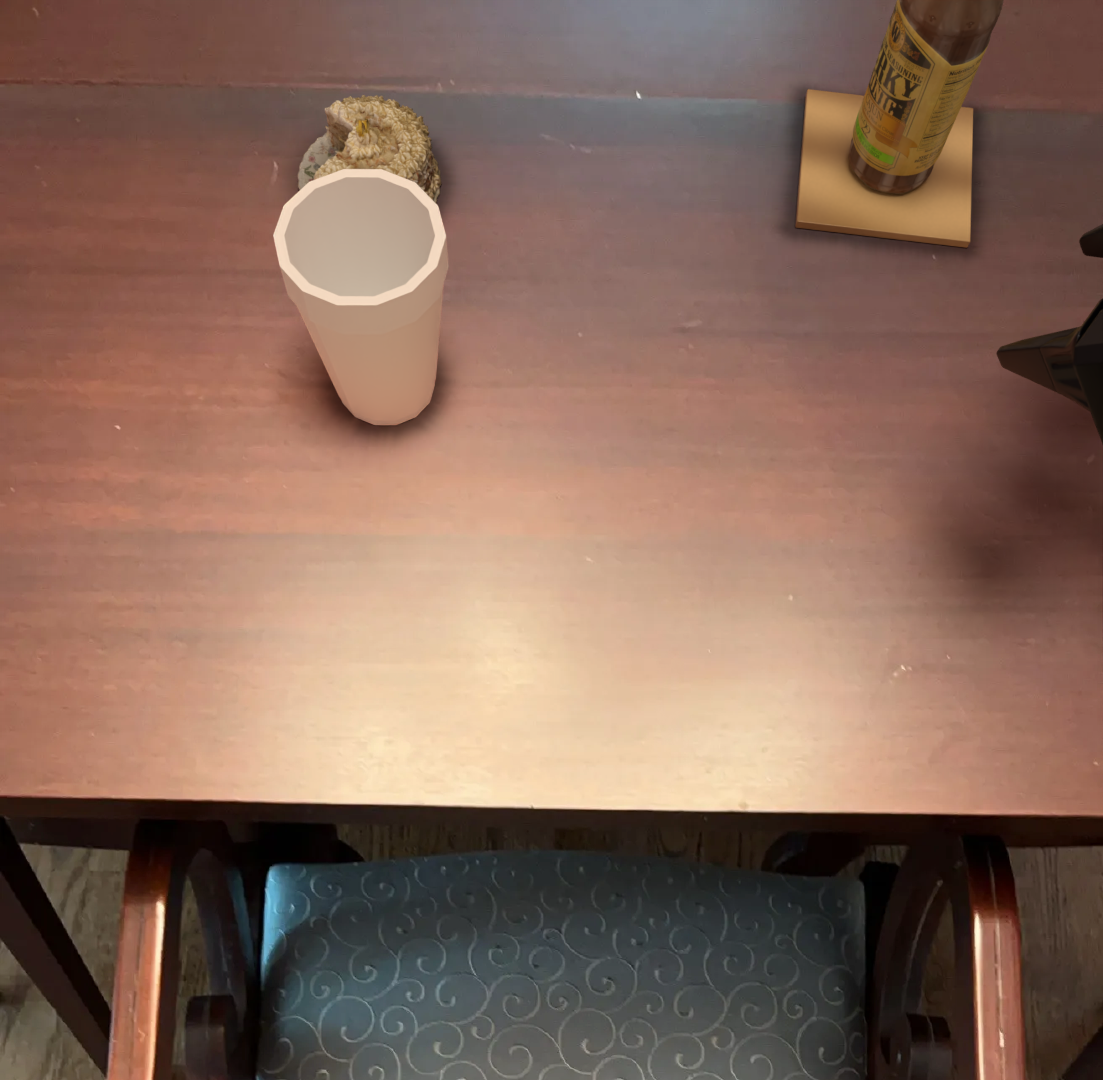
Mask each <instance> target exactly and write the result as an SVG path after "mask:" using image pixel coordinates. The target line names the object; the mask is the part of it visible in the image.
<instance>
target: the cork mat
mask: <svg viewBox="0 0 1103 1080" xmlns="http://www.w3.org/2000/svg"><path fill="white" fill-rule="evenodd" d="M863 98H864V95H861V94H853V93H846V92H836V91H828V90H827V91H826V90H819V89H811V88H807V90H806V93H805V99H804V112H803V113H804V114H803V125H802V139H801V151H800V161H799V162H800V164H799V175H798V176H799V177H798V189H797V201H796V215H795V225H794V227H795V228H797V229H803V230H804V229H805V230H814V231H822V232H830V233H831V232H832V233H839V234H847V235H855V236H863V237H864V236H865V237H871V238H872V237H873V238H882V239H889V240H898V241H907V242H914V243H915V242H916V243H923V244H924V243H925V244H933V245H941V246H942V245H943V246H951V247H958V248H966V249H967V248H968V247H969V245H970V243H971V230H972V229H971V228H972V227H971V225H972V222H971V221H972V185H973V184H972V180H973V179H972V176H973V135H974V132H973V131H974V130H973V129H974V108H973V107H966V106H961V108H960V111H959V113H958V115H957V117H956V120H955V122H954V124H953V126H952V129H951V131H950V133H949V135H948V138H947V140H946V142H945V145H944V147H943V149H942V152H941V154H940V156H939V158H938V159H937V161H936V162H935V164H934V166H933V169H932V172H931V174H930V175H929V177H928V178H927V179H926V180H925V181H924V182H923V183H922V184H921V185H919V186H918V187H916V188H915V189H913V190H911V191H909V192H907V193H902V194H894V193H886V192H881V191H879V190H875V189H872V188H870V187H868V186H867V185H865V183H864V182H863V181H862V180H861V179H860V178H859V177H858V176H857V175H856V173H855V172H854V171H853V170H852V168H851V165H850V156H849V155H850V145H851V140H852V137H853V135H852V134H853V128H854V124H855V121H856V118H857V115H858V112H859V110H860V107H861V104H862V101H863Z"/></svg>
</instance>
